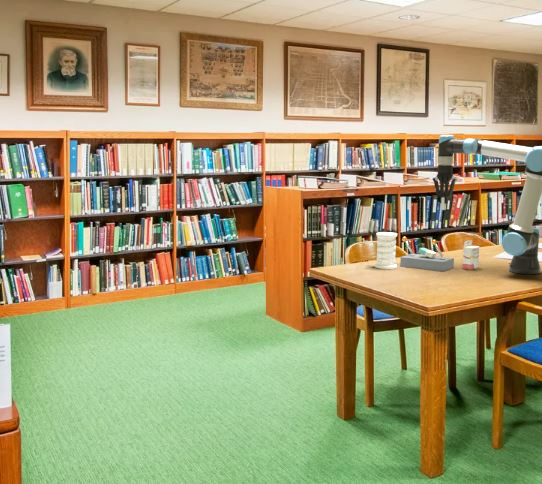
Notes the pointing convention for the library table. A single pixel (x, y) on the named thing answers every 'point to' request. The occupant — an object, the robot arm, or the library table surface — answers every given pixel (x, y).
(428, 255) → the rocker mid
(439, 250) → the lever near
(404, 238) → the lever far
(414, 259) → the console
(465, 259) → the ink cartridge box
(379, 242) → the decorative container
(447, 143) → the robot arm
